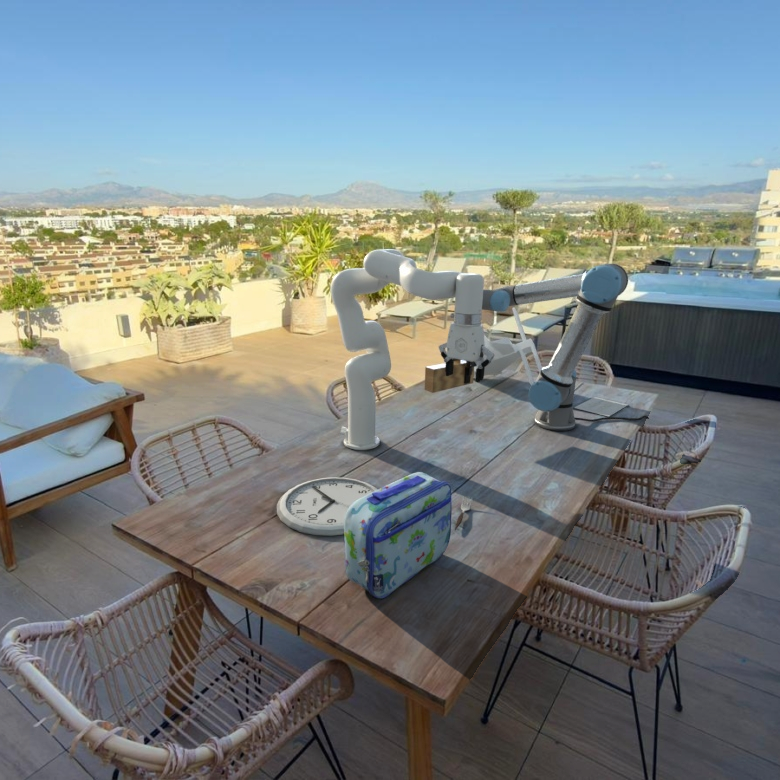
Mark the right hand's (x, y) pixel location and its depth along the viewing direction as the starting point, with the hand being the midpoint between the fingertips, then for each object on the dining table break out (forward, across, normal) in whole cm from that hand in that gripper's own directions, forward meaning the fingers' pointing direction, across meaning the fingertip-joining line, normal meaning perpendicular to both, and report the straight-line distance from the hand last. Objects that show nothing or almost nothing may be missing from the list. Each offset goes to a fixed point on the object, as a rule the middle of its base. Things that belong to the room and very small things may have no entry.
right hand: (462, 381), depth 208 cm
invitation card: (+15, +28, +58) cm, 66 cm away
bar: (+1, 0, -7) cm, 7 cm away
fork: (+15, +55, -56) cm, 80 cm away
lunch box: (+15, +62, -84) cm, 105 cm away
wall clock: (+15, +29, -80) cm, 86 cm away
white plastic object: (+15, -20, +49) cm, 55 cm away
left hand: (-17, +38, -40) cm, 58 cm away
